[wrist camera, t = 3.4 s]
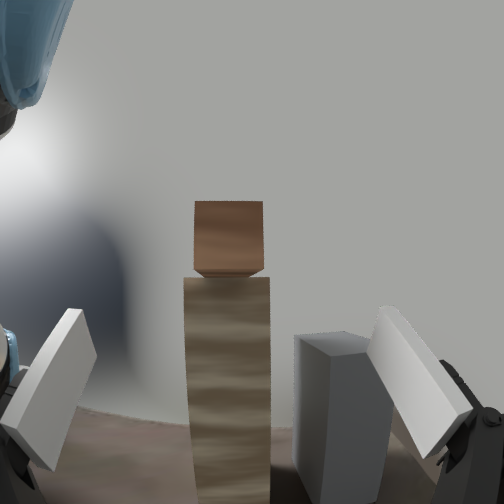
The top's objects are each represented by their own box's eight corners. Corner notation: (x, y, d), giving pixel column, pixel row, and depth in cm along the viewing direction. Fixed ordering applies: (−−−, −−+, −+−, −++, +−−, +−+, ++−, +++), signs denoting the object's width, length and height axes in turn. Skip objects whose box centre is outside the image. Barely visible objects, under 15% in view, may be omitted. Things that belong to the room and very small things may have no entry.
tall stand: (269, 522, 25) (269, 277, 29) (201, 524, 24) (183, 277, 28) (255, 462, 41) (252, 282, 44) (206, 463, 40) (197, 282, 44)
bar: (263, 268, 18) (262, 201, 18) (193, 269, 17) (194, 201, 18) (239, 281, 43) (239, 253, 44) (211, 282, 43) (211, 253, 43)
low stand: (376, 501, 26) (398, 347, 29) (318, 515, 25) (330, 356, 28) (337, 452, 42) (343, 331, 45) (291, 459, 41) (294, 334, 44)
